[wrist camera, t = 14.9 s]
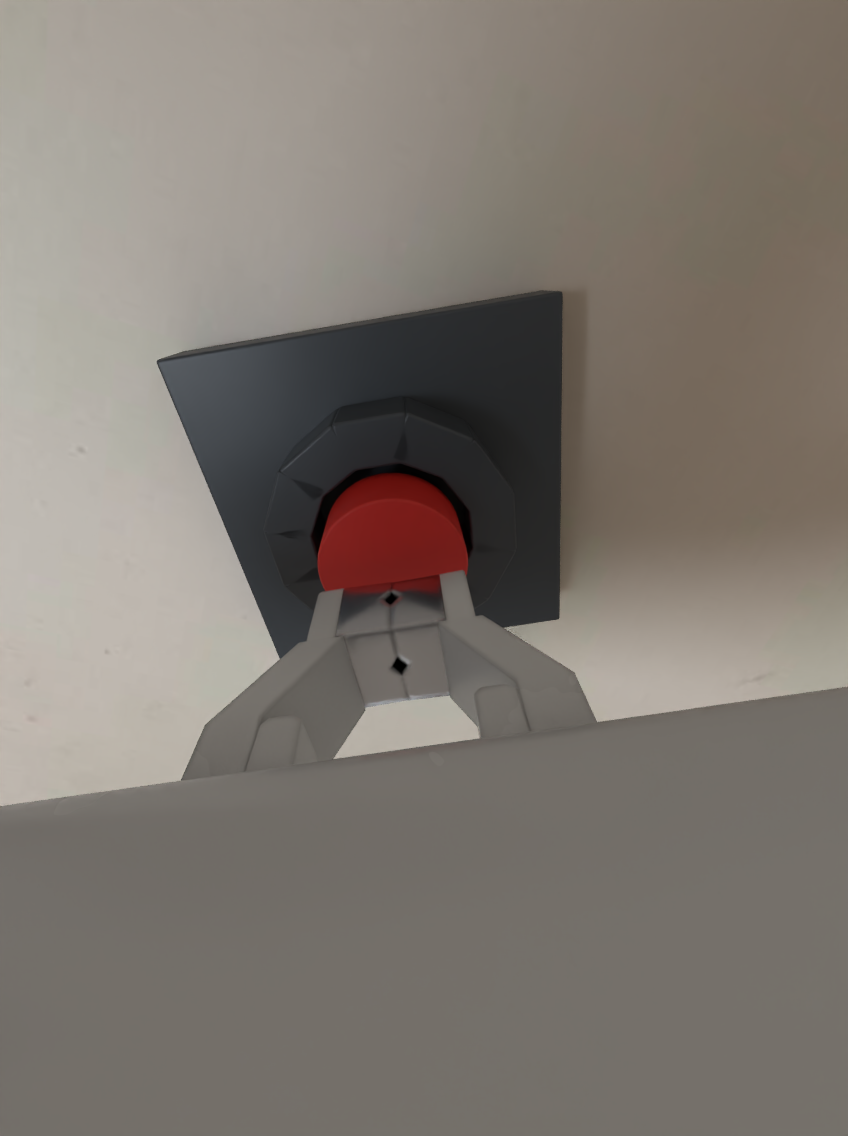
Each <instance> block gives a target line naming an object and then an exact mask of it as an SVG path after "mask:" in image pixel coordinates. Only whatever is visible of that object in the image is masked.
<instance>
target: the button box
mask: <svg viewBox="0 0 848 1136" xmlns="http://www.w3.org/2000/svg"><path fill="white" fill-rule="evenodd" d="M562 304H563V294H562V292H560V291H536V292H530V293H524V294H518V295H512V296H507V297H501V298H495V299H489V300H483V301H477V302H471V303H465V304H460V305H454V306H448V307H442V308H436V309H430V310H424V311H418V312H413V313H407V314H401V315H395V316H389V317H383V318H377V319H371V320H366V321H360V322H354V323H348V324H342V325H336V326H330V327H324V328H319V329H313V330H307V331H301V332H295V333H289V334H283V335H277V336H272V337H266V338H260V339H254V340H248V341H242V342H236V343H230V344H225V345H219V346H213V347H207V348H201V349H195V350H189V351H183V352H180V353H177V354H174V355H171V356H168V357H165V358H162V359H159V360H157V364H158V367H159V369H160V371H161V374H162V376H163V379H164V381H165V383H166V386H167V388H168V391H169V393H170V396H171V398H172V400H173V403H174V405H175V408H176V410H177V412H178V415H179V417H180V420H181V422H182V424H183V427H184V429H185V432H186V434H187V436H188V439H189V441H190V444H191V446H192V448H193V451H194V453H195V456H196V458H197V460H198V463H199V465H200V468H201V470H202V472H203V475H204V477H205V480H206V482H207V484H208V487H209V489H210V492H211V494H212V497H213V499H214V501H215V504H216V506H217V509H218V511H219V513H220V516H221V518H222V521H223V523H224V525H225V528H226V530H227V533H228V535H229V537H230V540H231V542H232V545H233V547H234V549H235V552H236V554H237V557H238V559H239V561H240V564H241V566H242V569H243V571H244V573H245V576H246V578H247V581H248V583H249V585H250V588H251V590H252V593H253V595H254V597H255V600H256V602H257V605H258V607H259V610H260V612H261V614H262V617H263V619H264V622H265V624H266V626H267V629H268V631H269V634H270V636H271V638H272V641H273V643H274V646H275V648H276V650H277V653H278V655H279V658H280V659H281V658H282V657H283V656H284V655H285V654H287V653H288V652H289V651H290V650H291V649H292V648H293V647H295V646H296V645H297V644H298V643H299V642H305V641H307V637H308V633H309V629H310V625H311V621H312V617H313V613H314V609H315V605H316V601H317V597H318V595H319V593H321V592H323V591H325V589H324V588H323V585H322V583H321V580H320V577H319V573H318V564H317V560H318V552H319V547H320V544H321V540H322V536H323V533H324V529H325V526H326V522H327V519H328V515H329V513H330V510H331V508H332V506H333V505H334V503H335V501H336V500H337V499H338V497H339V496H340V495H341V494H342V493H343V492H344V491H345V490H346V489H347V488H349V487H350V486H351V485H353V484H354V483H356V482H358V481H360V480H362V479H364V478H367V477H369V476H373V475H377V474H382V473H402V474H409V475H412V476H416V477H419V478H421V479H423V480H426V481H428V482H429V483H431V484H433V485H434V486H435V487H437V488H438V489H439V490H440V491H442V493H443V494H444V495H445V496H446V497H447V498H448V499H449V501H450V502H451V504H452V505H453V507H454V509H455V511H456V514H457V517H458V520H459V523H460V527H461V531H462V534H463V538H464V541H465V545H466V549H467V554H468V570H467V575H466V579H467V583H468V587H469V591H470V595H471V599H472V603H473V608H474V612H475V616H480V615H483V616H485V617H487V618H488V619H490V620H491V621H493V622H495V623H496V624H498V625H499V626H501V627H503V628H504V627H510V626H517V625H524V624H530V623H537V622H544V621H550V620H557V619H559V608H560V507H561V406H562Z"/></svg>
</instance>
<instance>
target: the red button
mask: <svg viewBox="0 0 848 1136" xmlns="http://www.w3.org/2000/svg"><path fill="white" fill-rule="evenodd" d="M317 564H318V573H319V577H320V580H321V583H322V585H323V588H324V589H325V591H329V590H335V589H341V588H344V589H345V588H350V587H358V586H365V585H373V584H381V583H388V582H392V583H393V582H399V581H404V580H410V579H416V578H421V577H427V576H432V575H438V574H439V579H440V574H443V573H448V572H453V571H459V570H463V571H465V575H467V570H468V554H467V549H466V545H465V541H464V538H463V534H462V531H461V527H460V523H459V520H458V517H457V514H456V511H455V509H454V507H453V505H452V504H451V502H450V501H449V499H448V498H447V497H446V496H445V495H444V494H443V493H442V491H440V490H439V489H438V488H437V487H435V486H434V485H433V484H431V483H429V482H428V481H426V480H423V479H421V478H419V477H416V476H412V475H409V474H402V473H382V474H377V475H373V476H369V477H367V478H364V479H362V480H360V481H358V482H356V483H354V484H353V485H351V486H350V487H349V488H347V489H346V490H345V491H344V492H343V493H342V494H341V495H340V496H339V497H338V499H337V500H336V501H335V503H334V505H333V506H332V508H331V510H330V513H329V515H328V519H327V522H326V526H325V529H324V533H323V536H322V540H321V544H320V547H319V552H318V560H317ZM440 585H441V584H440ZM441 591H442V590H441ZM443 604H444V603H443Z"/></svg>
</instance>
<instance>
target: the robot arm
mask: <svg viewBox="0 0 848 1136" xmlns="http://www.w3.org/2000/svg"><path fill="white" fill-rule="evenodd" d="M440 584H441V585H440ZM441 590H442V591H441ZM443 603H444V604H443ZM449 695H450V697H451V698H452V700H453V701H454V702H455V703H456V704H457V705H458V706H459V707H460V708H461V709H462V710H463V711H464V713H465V714H466V715H467V716H468V717H469V718H470V719H471V720H472V721H473V722H474V723H475V724H476V726H477V727H478V731H479V739H473V740H466V741H458V742H451V743H444V744H437V745H430V746H423V747H416V748H409V749H402V750H395V751H388V752H381V753H374V754H367V755H360V756H353V757H346V758H339V759H333V758H334V757H335V755H336V754H337V752H338V751H339V749H340V748H341V746H342V745H343V743H344V742H345V740H346V739H347V737H348V736H349V734H350V733H351V731H352V730H353V728H354V727H355V725H356V724H357V722H358V721H359V719H360V718H361V716H362V715H363V713H364V711H365V708H366V707H371V706H377V705H383V704H389V703H395V702H401V701H406V700H415V699H423V698H432V697H440V696H449ZM0 1136H848V687H842V688H835V689H827V690H820V691H813V692H806V693H799V694H792V695H785V696H778V697H771V698H764V699H756V700H749V701H742V702H735V703H728V704H721V705H714V706H707V707H700V708H693V709H686V710H679V711H673V712H666V713H659V714H652V715H645V716H637V717H630V718H623V719H616V720H609V721H602V722H597V721H596V719H595V716H594V714H593V712H592V710H591V708H590V706H589V703H588V701H587V699H586V697H585V695H584V693H583V690H582V688H581V686H580V684H579V682H578V680H577V677H576V675H575V673H574V672H573V671H571V670H570V669H568V668H566V667H565V666H563V665H562V664H560V663H558V662H557V661H555V660H554V659H552V658H550V657H549V656H547V655H546V654H544V653H542V652H541V651H539V650H538V649H536V648H534V647H533V646H531V645H530V644H528V643H527V642H525V641H523V640H522V639H520V638H519V637H517V636H515V635H514V634H512V633H511V632H509V631H507V630H506V629H504V628H503V627H501V626H499V625H498V624H496V623H495V622H493V621H491V620H490V619H488V618H487V617H485V616H483V615H480V616H475V612H474V608H473V603H472V599H471V595H470V591H469V587H468V583H467V579H466V575H465V571H463V570H459V571H453V572H448V573H443V574H440V579H439V574H438V575H432V576H427V577H421V578H416V579H410V580H404V581H399V582H393V583H392V582H388V583H381V584H373V585H365V586H358V587H350V588H345V589H344V588H341V589H335V590H329V591H323V592H321V593H319V595H318V597H317V601H316V605H315V609H314V613H313V617H312V621H311V625H310V629H309V633H308V637H307V641H305V642H299V643H298V644H297V645H296V646H295V647H293V648H292V649H291V650H290V651H289V652H288V653H287V654H285V655H284V656H283V657H282V658H281V659H280V660H279V661H277V662H276V663H275V664H274V665H273V666H272V667H271V668H270V669H268V670H267V671H266V672H265V673H264V674H263V675H262V676H260V677H259V678H258V679H257V680H256V681H255V682H254V683H252V684H251V685H250V686H249V687H248V688H247V689H246V690H244V691H243V692H242V693H241V694H240V695H239V696H238V697H236V698H235V699H234V700H233V701H232V702H231V703H230V704H228V705H227V706H226V707H225V708H224V709H223V710H222V711H220V712H219V713H218V714H217V715H216V716H215V717H214V718H212V719H211V720H210V721H209V722H208V723H207V724H206V725H205V726H204V729H203V731H202V733H201V736H200V738H199V740H198V742H197V745H196V747H195V749H194V752H193V754H192V756H191V758H190V761H189V763H188V765H187V768H186V770H185V772H184V774H183V777H182V779H181V781H176V782H169V783H162V784H155V785H147V786H140V787H133V788H126V789H119V790H112V791H105V792H98V793H90V794H83V795H76V796H69V797H62V798H55V799H48V800H41V801H34V802H26V803H19V804H12V805H5V806H0Z"/></svg>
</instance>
